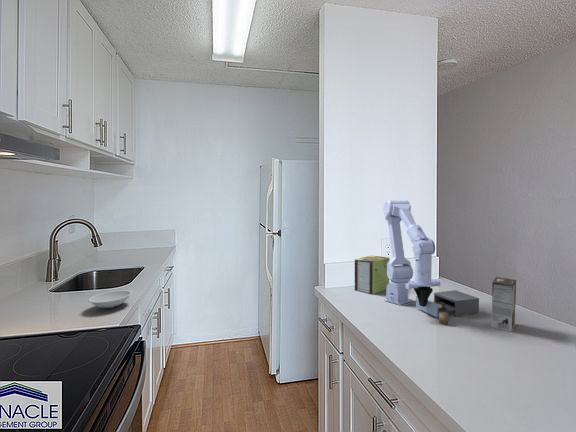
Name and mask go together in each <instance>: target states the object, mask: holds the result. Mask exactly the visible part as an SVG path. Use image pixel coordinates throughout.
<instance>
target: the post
mask: <svg viewBox="0 0 576 432" xmlns="http://www.w3.org/2000/svg"><path fill="white" fill-rule="evenodd" d="M449 317H450V314H449V313H446V312H439V315H438V324H440V325H443V326H447V325H449V322H450V321H449V320H450V318H449Z"/></svg>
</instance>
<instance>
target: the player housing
mask: <svg viewBox="0 0 576 432" xmlns="http://www.w3.org/2000/svg"><path fill="white" fill-rule="evenodd" d="M433 293H434V294H433V302H439V301H442V302H444V303H447V304H449V305H452V306H454V307H455V312H454V313H448V314H449V315H452V316H453V317H463V316H470V315H477V314H479V313H480V298H479V297H477V296H473V295H471V294H469V293H465V292H461V291H459V290H456V289H455V290H446V291H438V292H437V291H436V292H433Z"/></svg>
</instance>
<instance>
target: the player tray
mask: <svg viewBox="0 0 576 432" xmlns="http://www.w3.org/2000/svg"><path fill="white" fill-rule="evenodd" d="M433 302H434V301H430V300H428V301H427V304H426V307H422V306H420V305H419V300H418V297H417V295H416V296H415V308H416V309H419V310H421V311H423V312H424V313H427V314H429V315H431V316H434V318H435V317H436V318H439V312H446V313H448V314H449V313H454V312H455V307H454V306H452V305H449V304H447V303H444V302H442V301H439V302H440V303H443V304H444V309H443V310H438V307H439V305H438V304H435V303H433Z"/></svg>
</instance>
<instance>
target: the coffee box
mask: <svg viewBox="0 0 576 432" xmlns="http://www.w3.org/2000/svg"><path fill="white" fill-rule="evenodd" d="M491 286H492V287H491V288H492V289H491V316H490V318H491V319H490V320H491V323H490V327H491V328H492V329H497V330H502V331H507V332H511V333H513V331H514V329H515V328H514V327H515V325H516V299H517V298H516V297H517V295H516V294H517V280H516V279H512V278H508V277H507V278H506V277H497V276H496V277H494V279H493V281H492V285H491Z"/></svg>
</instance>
